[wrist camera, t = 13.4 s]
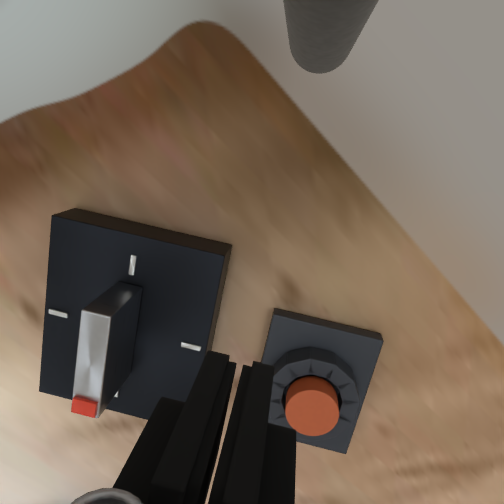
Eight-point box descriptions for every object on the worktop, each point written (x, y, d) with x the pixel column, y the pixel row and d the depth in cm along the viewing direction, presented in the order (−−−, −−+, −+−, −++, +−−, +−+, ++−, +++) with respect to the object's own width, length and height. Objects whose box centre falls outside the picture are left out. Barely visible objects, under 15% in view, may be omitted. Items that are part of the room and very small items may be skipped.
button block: (274, 307, 31) (271, 324, 28) (380, 333, 31) (388, 353, 28) (247, 418, 34) (242, 444, 31) (344, 443, 33) (348, 472, 31)
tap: (118, 280, 29) (78, 311, 24) (143, 287, 28) (109, 318, 23) (106, 368, 31) (68, 414, 26) (130, 374, 30) (96, 421, 25)
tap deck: (74, 207, 31) (49, 215, 28) (232, 244, 30) (224, 256, 27) (60, 370, 35) (37, 392, 32) (199, 406, 34) (189, 432, 31)
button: (292, 370, 29) (291, 384, 28) (343, 382, 29) (345, 397, 27) (281, 412, 30) (279, 428, 29) (329, 425, 30) (331, 442, 28)
